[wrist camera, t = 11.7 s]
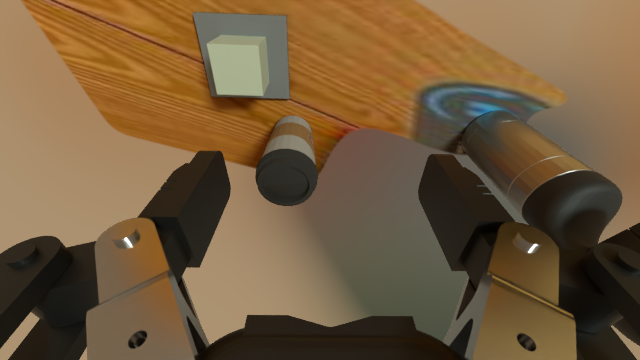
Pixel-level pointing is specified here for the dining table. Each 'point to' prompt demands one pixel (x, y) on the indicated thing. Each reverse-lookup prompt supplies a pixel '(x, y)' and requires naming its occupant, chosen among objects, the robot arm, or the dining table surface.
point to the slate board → (249, 25)
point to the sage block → (239, 64)
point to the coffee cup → (288, 163)
